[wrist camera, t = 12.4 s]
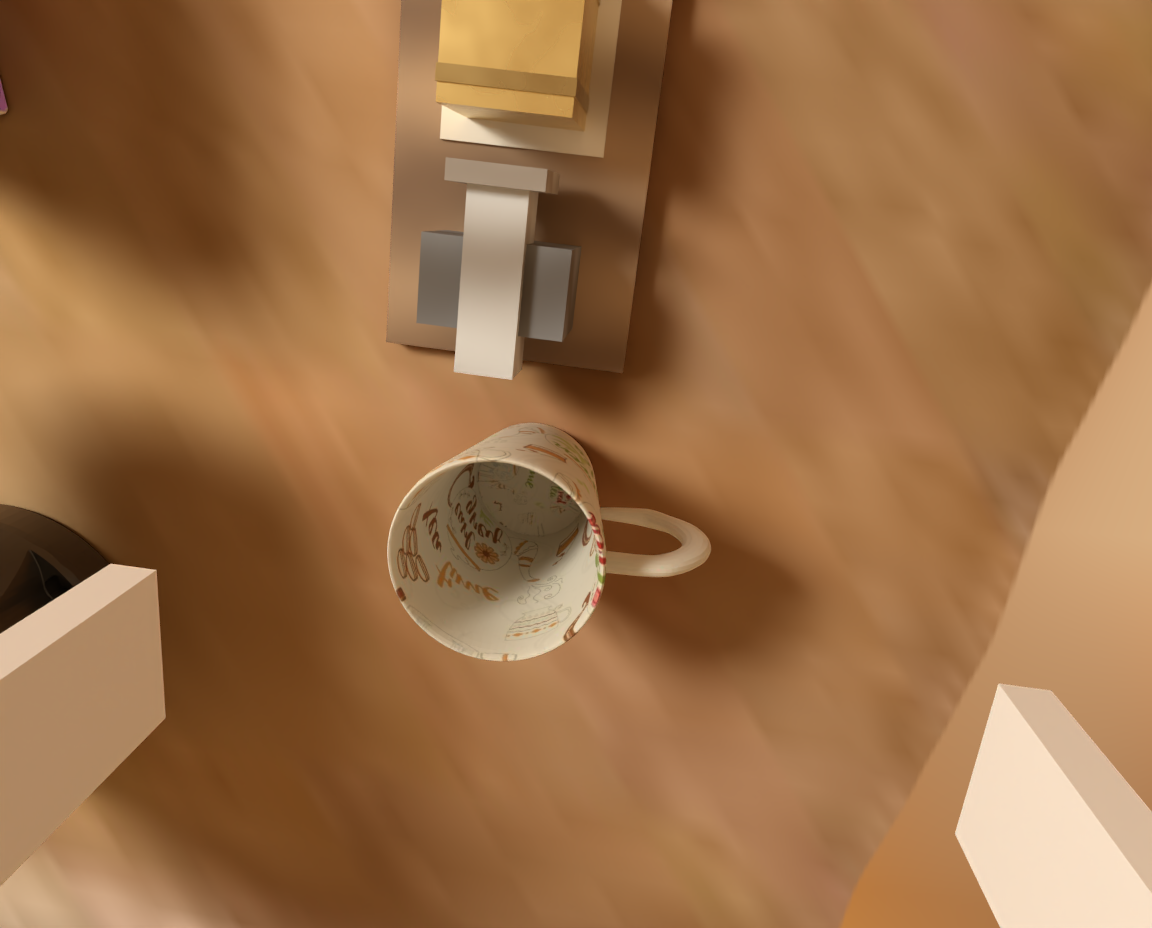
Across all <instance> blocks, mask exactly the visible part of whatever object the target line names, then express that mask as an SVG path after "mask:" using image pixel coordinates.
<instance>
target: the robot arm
mask: <svg viewBox="0 0 1152 928" xmlns="http://www.w3.org/2000/svg"><path fill="white" fill-rule="evenodd" d="M165 718H166V714H165V698H164V682H163V665H162V649H161V633H160V617H159V601H158V585H157V570H154V569H146V568H139V567H132V566H124V565H117V564H108V563H107V562H106V561H105V560H104V559H103V558H102V557H101V555H100V554H99V553H98V552H96V551H95V550H94V549H93V548H92V547H91V546H90V545H89V544H87V543H86V542H85V541H84V540H83V539H81V538H80V537H78V536H77V535H76V534H74V533H73V532H71V531H70V530H68V529H67V528H65V527H64V526H62V525H60V524H58V523H56V522H55V521H52V520H50V519H48V518H46V517H44V516H42V515H39V514H37V513H34V512H31V511H28V510H25V509H21V508H17V507H13V506H8V505H2V504H0V886H1V885H2V884H3V883H4V882H5V881H6V880H7V879H8V878H9V877H10V876H11V875H12V874H13V873H14V872H15V871H16V870H17V869H18V868H19V867H20V866H21V865H22V864H23V863H24V862H25V861H26V860H27V859H28V858H29V857H30V856H31V855H32V854H33V853H34V852H35V850H36V849H37V848H38V847H39V846H40V845H41V844H42V843H43V842H44V841H45V840H46V839H47V838H48V837H49V836H50V835H51V834H52V833H53V832H54V831H55V830H56V829H57V828H58V827H59V826H60V825H61V824H62V823H63V822H64V821H65V820H66V819H67V818H68V817H69V816H70V815H71V814H72V813H73V812H74V811H75V810H76V809H77V808H78V807H79V806H80V805H81V804H82V803H83V802H84V801H85V800H86V799H87V798H88V797H89V796H90V795H91V793H92V792H93V791H94V790H95V789H96V788H97V787H98V786H99V785H100V784H101V783H102V782H103V781H104V780H105V779H106V778H107V777H108V776H109V775H110V774H111V773H112V772H113V771H114V770H115V769H116V768H117V767H118V766H119V765H120V764H121V763H122V762H123V761H124V760H125V759H126V758H127V757H128V756H129V755H130V754H131V753H132V752H133V751H134V750H135V749H136V748H137V747H138V746H139V745H140V744H141V743H142V742H143V741H144V740H145V739H146V738H147V737H148V735H149V734H150V733H151V732H152V731H153V730H154V729H155V728H156V727H157V726H158V725H159V724H160V723H161V722H162V721H163V720H164V719H165ZM955 835H956V837H957V839H958V841H959V843H960V845H961V847H962V849H963V851H964V853H965V856H966V858H967V860H968V862H969V864H970V865H971V868H972V870H973V872H974V874H975V876H976V878H977V880H978V883H979V885H980V887H981V889H982V891H983V893H984V895H985V897H986V899H987V901H988V903H989V905H990V907H991V909H992V911H993V914H994V916H995V918H996V920H997V922H998V924H999V926H1000V928H1152V811H1151V810H1150V809H1149V808H1148V807H1147V806H1146V804H1145V803H1144V802H1143V801H1142V799H1141V798H1140V797H1139V796H1138V795H1137V794H1136V793H1135V791H1134V790H1133V789H1132V787H1131V786H1130V785H1129V784H1128V783H1127V782H1126V781H1125V779H1124V778H1123V777H1122V775H1121V774H1120V773H1119V772H1118V771H1117V769H1116V768H1115V767H1114V766H1113V765H1112V763H1111V762H1110V761H1109V760H1108V758H1107V757H1106V756H1105V755H1104V754H1103V752H1102V751H1101V750H1100V749H1099V748H1098V747H1097V745H1096V744H1095V743H1094V742H1093V740H1092V739H1091V738H1090V737H1089V736H1088V734H1087V733H1086V732H1085V731H1084V729H1083V728H1082V727H1081V726H1080V725H1079V723H1078V722H1077V721H1076V720H1075V719H1074V717H1073V716H1072V715H1071V714H1070V713H1069V711H1068V710H1067V709H1066V708H1065V707H1064V705H1063V704H1062V703H1061V702H1060V701H1059V699H1058V698H1057V697H1056V696H1055V694H1054V693H1053V692H1052V691H1051V690H1043V689H1036V688H1029V687H1020V686H1014V685H1006V684H998V687H997V690H996V694H995V697H994V701H993V704H992V708H991V711H990V715H989V718H988V722H987V725H986V729H985V732H984V736H983V739H982V742H981V746H980V749H979V753H978V756H977V760H976V763H975V767H974V770H973V773H972V777H971V780H970V784H969V787H968V791H967V794H966V798H965V801H964V805H963V808H962V811H961V815H960V819H959V822H958V825H957V829H956V832H955Z"/></svg>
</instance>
